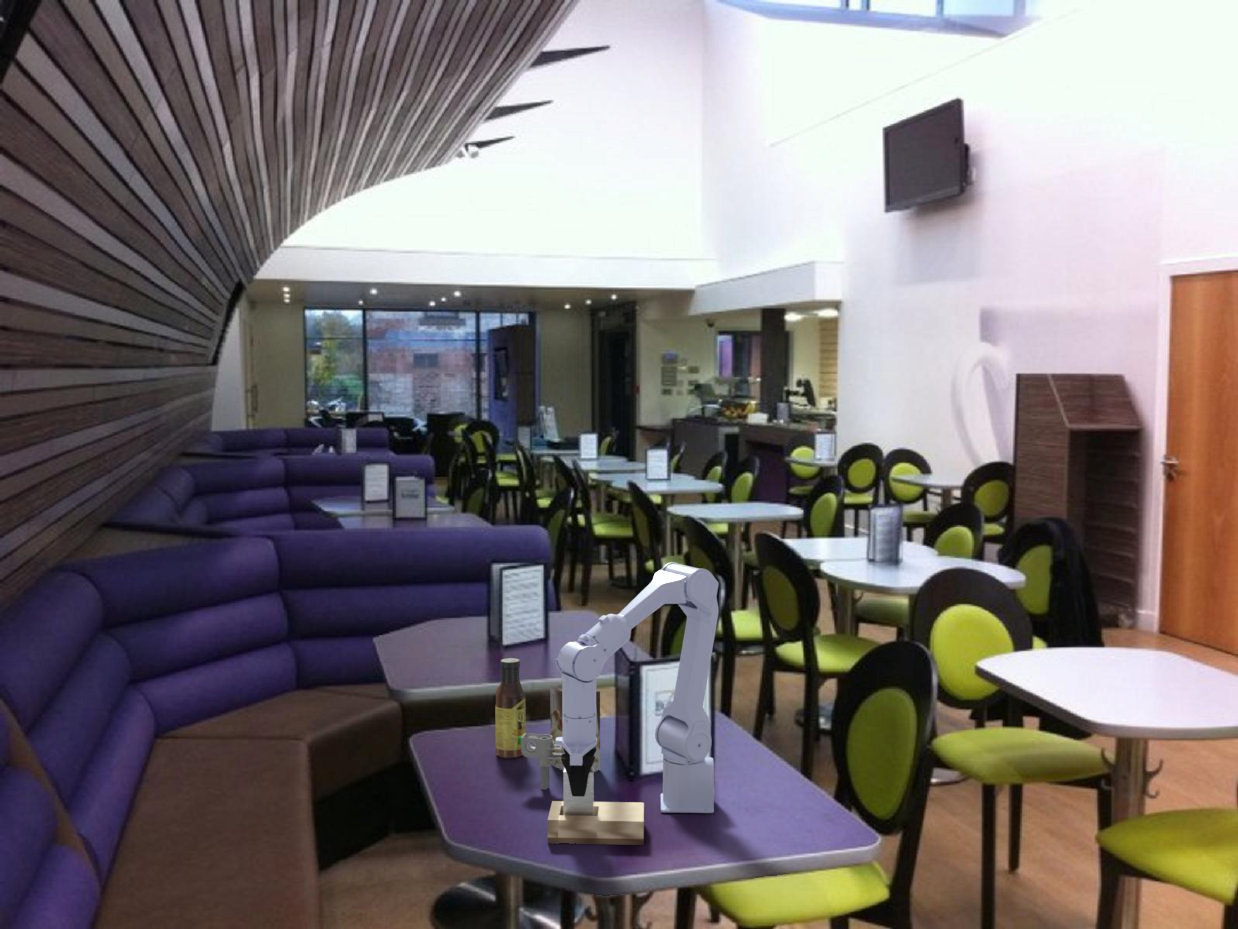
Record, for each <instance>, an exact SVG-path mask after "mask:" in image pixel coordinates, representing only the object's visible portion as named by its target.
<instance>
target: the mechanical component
mask: <svg viewBox="0 0 1238 929" xmlns="http://www.w3.org/2000/svg"><path fill="white" fill-rule="evenodd" d="M531 743H533V744H534V745H535V746H533V745H532V744H531ZM554 743H555V741H554V740H553V736H552V735H551V734H549V733H547V734H546V733H544V734H543V733H542V734H541V733H530V732H529V733H527V732H526V733H524V734H523V736H518V744H521V751H522V754H523V755H522V756H523V757H525V758H531V759H538V763H537V765H538V766H539V768H540V790H544V791H545V790H546V791H547V790H548V788H550V767H551V766H552V763H551V759H555V760H561V756H562V754H565V752H564V747H563V746H562V745H557V744H554ZM553 750H558V751H563V753H553Z"/></svg>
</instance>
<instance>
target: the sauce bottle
mask: <svg viewBox="0 0 1238 929" xmlns="http://www.w3.org/2000/svg"><path fill="white" fill-rule="evenodd" d="M499 663H500V669H501V673H500V676H501V677H500V681H501V682H500V684H499V686H497V689H496V691H495V706H494V708H495V714H494V715H495V717H494V718H495V720H494V721H495V723H494V724H495V730H494V731H495V735H494V736H495V737H494V738H495V754H496V756H497V757H499V758H502V759H516V758H519V757H522V756H524V755H523V754H522V751H521V744H518V736H523V734H524V733H527V732H526V730H527V729H526V728H527V726H526V695H525V692H524V690H523V687H522V684H521V681H520V680H521V679H520V666H521V660H520V659H519V658H513V657H509V658H508V657H507V658H503V659H501V660H500V662H499Z"/></svg>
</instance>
